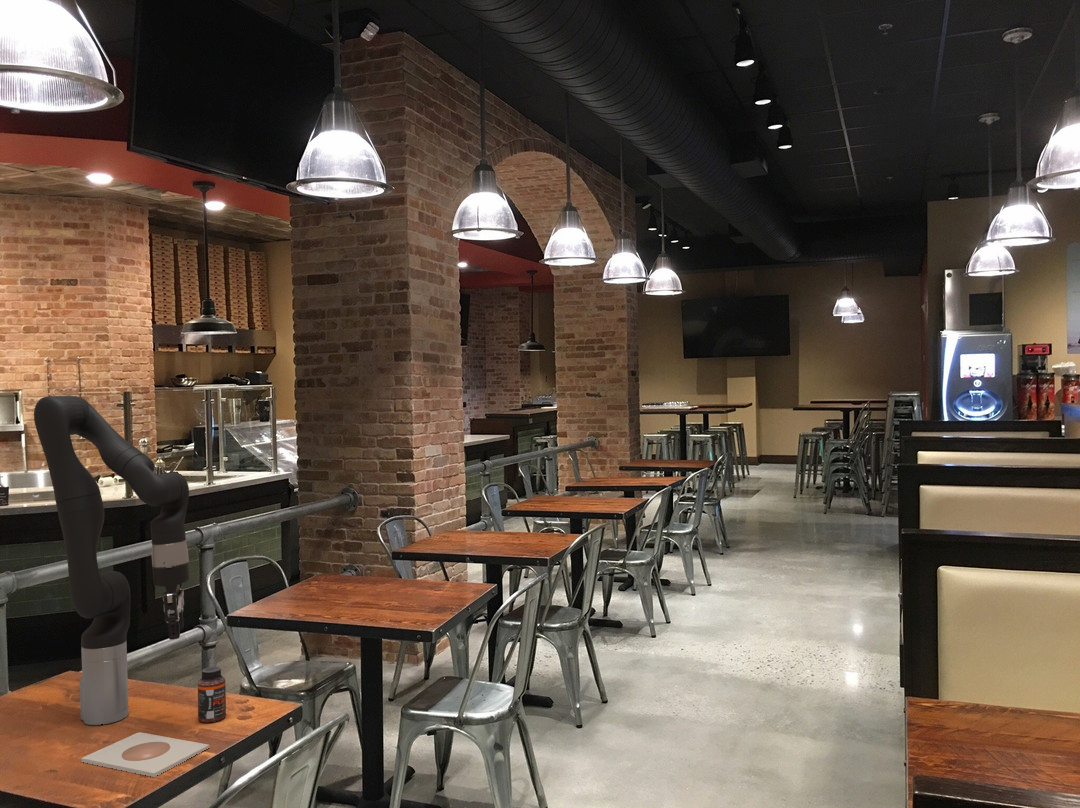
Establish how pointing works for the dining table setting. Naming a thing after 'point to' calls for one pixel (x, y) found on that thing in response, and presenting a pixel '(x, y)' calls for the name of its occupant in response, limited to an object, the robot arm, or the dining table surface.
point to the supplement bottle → (211, 695)
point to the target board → (145, 754)
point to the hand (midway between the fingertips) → (176, 634)
